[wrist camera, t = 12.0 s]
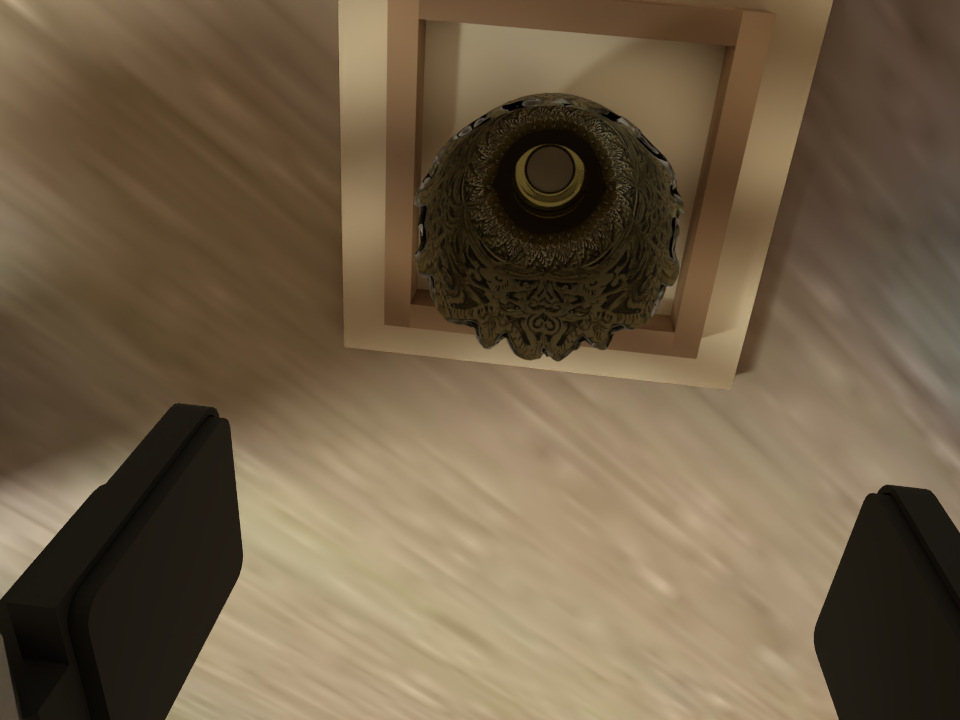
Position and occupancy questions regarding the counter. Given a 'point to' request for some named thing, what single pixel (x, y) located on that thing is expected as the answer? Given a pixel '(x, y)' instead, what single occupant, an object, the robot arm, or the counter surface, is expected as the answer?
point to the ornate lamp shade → (548, 228)
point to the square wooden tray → (600, 78)
